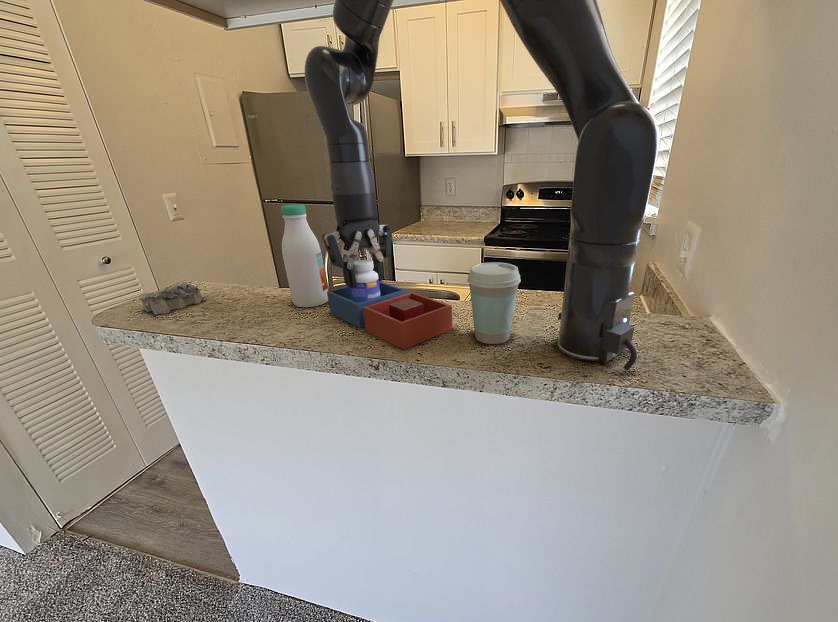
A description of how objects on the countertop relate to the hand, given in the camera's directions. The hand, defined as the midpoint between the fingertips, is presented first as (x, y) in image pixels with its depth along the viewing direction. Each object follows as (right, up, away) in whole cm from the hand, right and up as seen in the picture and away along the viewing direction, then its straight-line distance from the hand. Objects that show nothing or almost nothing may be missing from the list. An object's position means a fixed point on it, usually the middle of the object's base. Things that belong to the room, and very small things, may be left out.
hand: (365, 283), depth 79 cm
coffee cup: (+24, -11, -9) cm, 28 cm away
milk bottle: (-14, -2, +10) cm, 17 cm away
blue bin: (0, -5, +3) cm, 6 cm away
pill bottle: (0, -5, +3) cm, 6 cm away
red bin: (+9, -10, -6) cm, 14 cm away
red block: (+9, -9, -6) cm, 14 cm away
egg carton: (-44, -3, +10) cm, 46 cm away
